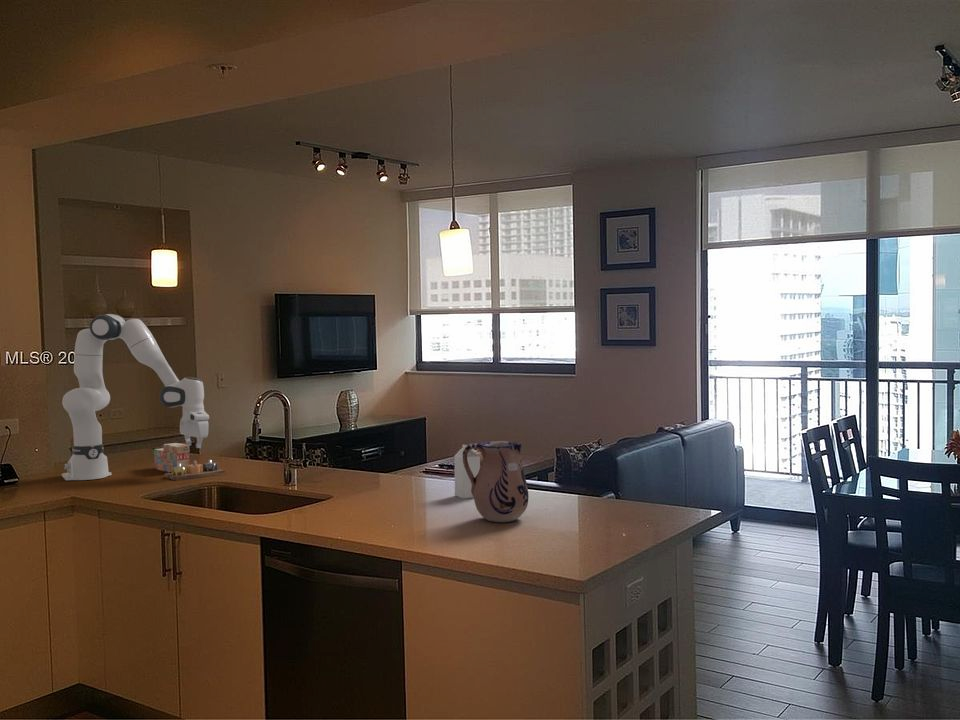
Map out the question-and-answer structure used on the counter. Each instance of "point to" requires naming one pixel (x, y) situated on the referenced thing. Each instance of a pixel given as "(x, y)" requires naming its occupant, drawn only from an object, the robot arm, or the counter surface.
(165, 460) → the stack of blocks
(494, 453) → the ceramic pitcher
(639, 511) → the counter surface
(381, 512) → the counter surface
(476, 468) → the milk carton
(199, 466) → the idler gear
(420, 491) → the counter surface
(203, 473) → the gear board
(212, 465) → the drive gears
